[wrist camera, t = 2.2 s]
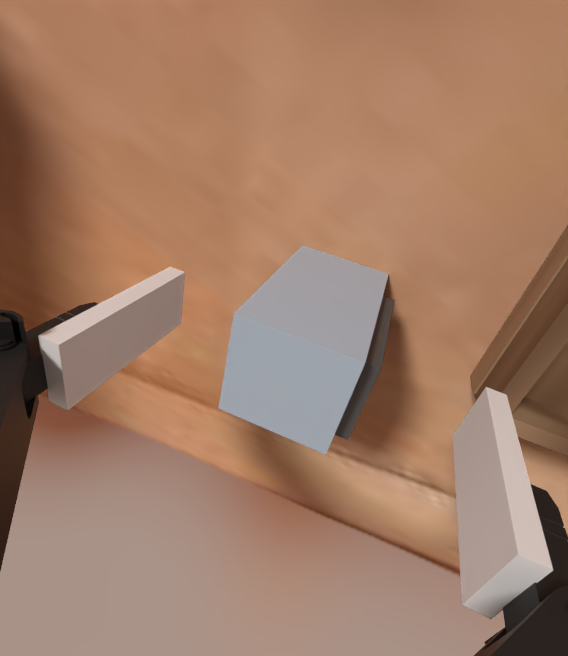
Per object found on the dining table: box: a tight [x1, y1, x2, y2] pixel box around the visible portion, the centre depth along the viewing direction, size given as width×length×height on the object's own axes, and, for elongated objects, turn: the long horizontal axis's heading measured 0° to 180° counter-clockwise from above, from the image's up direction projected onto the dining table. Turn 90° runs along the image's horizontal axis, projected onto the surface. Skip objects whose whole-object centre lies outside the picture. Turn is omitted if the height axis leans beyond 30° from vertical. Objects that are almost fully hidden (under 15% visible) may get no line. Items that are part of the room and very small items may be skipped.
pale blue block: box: [219, 246, 394, 455], centre depth 16 cm, size 4×5×8 cm
